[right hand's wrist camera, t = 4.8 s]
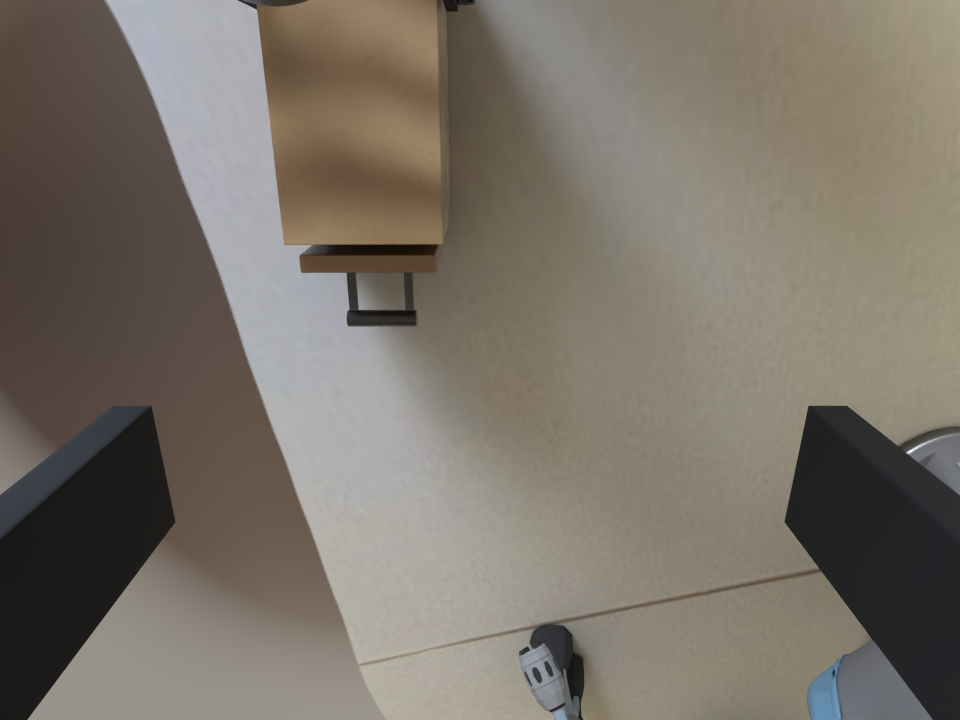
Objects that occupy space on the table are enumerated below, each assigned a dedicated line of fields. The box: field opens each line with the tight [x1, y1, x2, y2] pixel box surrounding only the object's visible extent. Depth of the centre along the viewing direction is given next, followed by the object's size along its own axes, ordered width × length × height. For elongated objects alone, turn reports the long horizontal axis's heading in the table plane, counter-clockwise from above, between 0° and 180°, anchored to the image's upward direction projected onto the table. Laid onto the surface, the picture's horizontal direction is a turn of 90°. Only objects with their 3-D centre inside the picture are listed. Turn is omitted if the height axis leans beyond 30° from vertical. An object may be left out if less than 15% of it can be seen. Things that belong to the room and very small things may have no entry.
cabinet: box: [257, 0, 451, 245], centre depth 43 cm, size 19×10×11 cm, turn 0°
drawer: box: [299, 244, 443, 326], centre depth 45 cm, size 23×9×9 cm, turn 0°
